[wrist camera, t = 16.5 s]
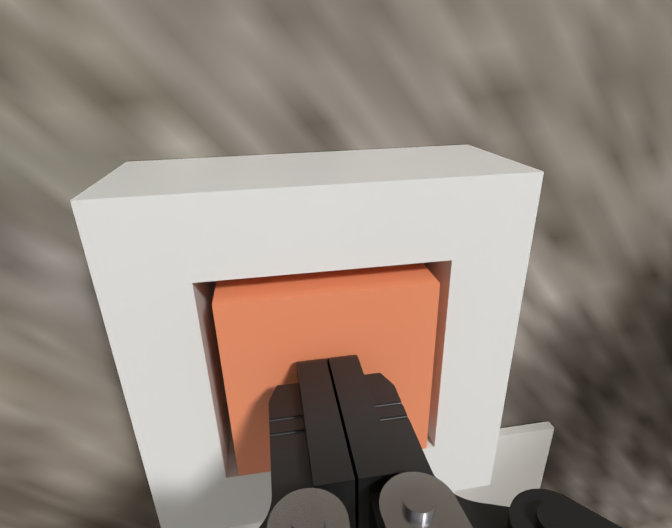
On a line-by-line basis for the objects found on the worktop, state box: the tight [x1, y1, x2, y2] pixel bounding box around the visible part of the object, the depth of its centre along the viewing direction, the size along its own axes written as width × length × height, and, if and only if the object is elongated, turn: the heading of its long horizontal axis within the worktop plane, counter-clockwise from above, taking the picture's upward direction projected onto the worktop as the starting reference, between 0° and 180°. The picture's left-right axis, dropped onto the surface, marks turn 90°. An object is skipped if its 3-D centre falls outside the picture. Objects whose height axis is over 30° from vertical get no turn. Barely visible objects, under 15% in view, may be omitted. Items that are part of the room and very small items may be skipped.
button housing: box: [70, 145, 544, 528], centre depth 13 cm, size 10×10×4 cm
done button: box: [212, 263, 440, 476], centre depth 12 cm, size 5×5×3 cm
